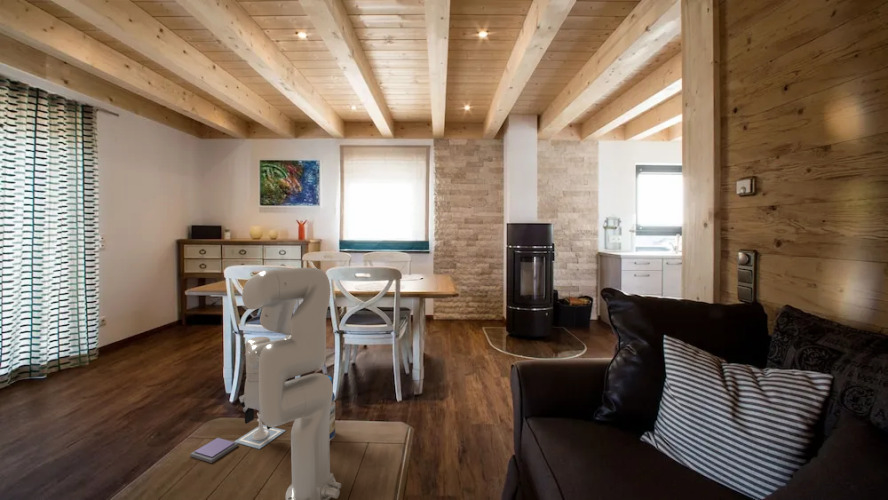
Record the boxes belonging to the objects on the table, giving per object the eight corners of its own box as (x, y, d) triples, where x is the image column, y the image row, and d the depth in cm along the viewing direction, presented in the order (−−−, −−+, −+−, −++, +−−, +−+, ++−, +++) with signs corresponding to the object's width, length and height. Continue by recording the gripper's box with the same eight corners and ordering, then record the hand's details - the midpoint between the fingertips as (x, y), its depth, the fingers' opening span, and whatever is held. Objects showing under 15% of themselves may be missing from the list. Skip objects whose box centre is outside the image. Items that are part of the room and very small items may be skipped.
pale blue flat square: (285, 431, 122) (285, 430, 122) (259, 449, 112) (259, 448, 112) (261, 425, 126) (261, 424, 126) (234, 442, 116) (234, 441, 116)
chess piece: (262, 441, 116) (261, 411, 116) (249, 439, 117) (248, 410, 116) (272, 432, 121) (271, 404, 120) (259, 431, 122) (258, 402, 121)
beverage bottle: (321, 428, 124) (320, 372, 123) (341, 432, 121) (340, 376, 120) (303, 441, 116) (302, 382, 115) (324, 446, 113) (324, 386, 113)
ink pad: (238, 446, 114) (237, 441, 114) (211, 463, 105) (211, 458, 105) (218, 440, 117) (217, 436, 117) (190, 456, 108) (190, 452, 108)
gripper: (287, 374, 119) (288, 423, 119) (249, 367, 124) (250, 414, 125) (270, 382, 112) (271, 435, 112) (230, 375, 117) (231, 425, 118)
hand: (260, 424), depth 119 cm, fingers open, 9 cm apart
